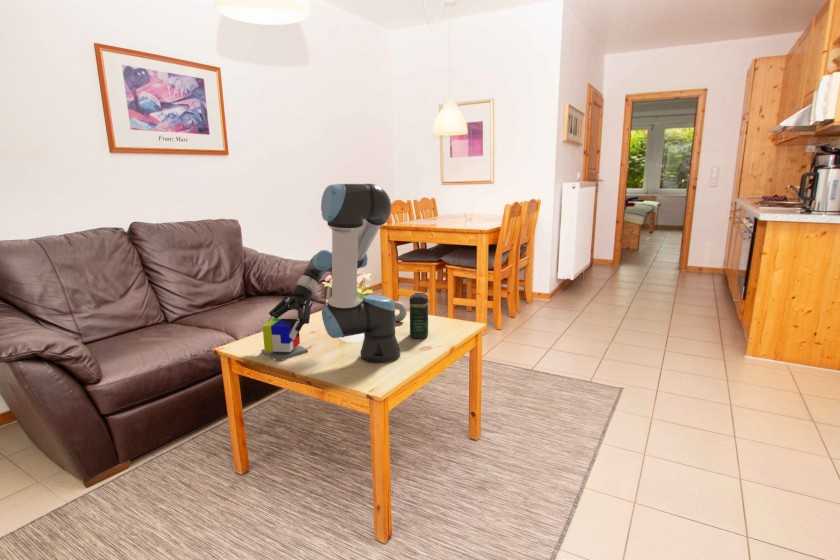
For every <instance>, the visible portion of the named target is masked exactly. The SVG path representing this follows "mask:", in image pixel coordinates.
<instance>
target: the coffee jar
mask: <svg viewBox="0 0 840 560" xmlns="http://www.w3.org/2000/svg"><path fill="white" fill-rule="evenodd" d="M409 336H410V338H414V339H416V338H421V339H424V338H427V337H428V336H429V295H428V294H426V293H424V292H415V293H413V294H412V295H410V296H409Z"/></svg>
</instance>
